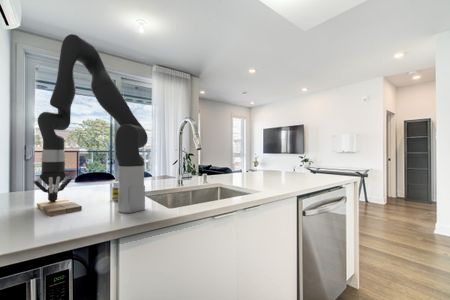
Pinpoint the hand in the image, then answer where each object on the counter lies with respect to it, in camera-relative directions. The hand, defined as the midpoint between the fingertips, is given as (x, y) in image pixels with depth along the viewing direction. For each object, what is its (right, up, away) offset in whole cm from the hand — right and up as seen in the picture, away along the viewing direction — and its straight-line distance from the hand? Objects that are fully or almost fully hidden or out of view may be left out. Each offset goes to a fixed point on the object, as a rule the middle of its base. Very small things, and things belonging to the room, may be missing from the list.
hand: (52, 201), depth 88 cm
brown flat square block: (+10, -2, -7) cm, 12 cm away
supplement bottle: (+22, -2, +11) cm, 24 cm away
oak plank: (+2, -2, -1) cm, 3 cm away
